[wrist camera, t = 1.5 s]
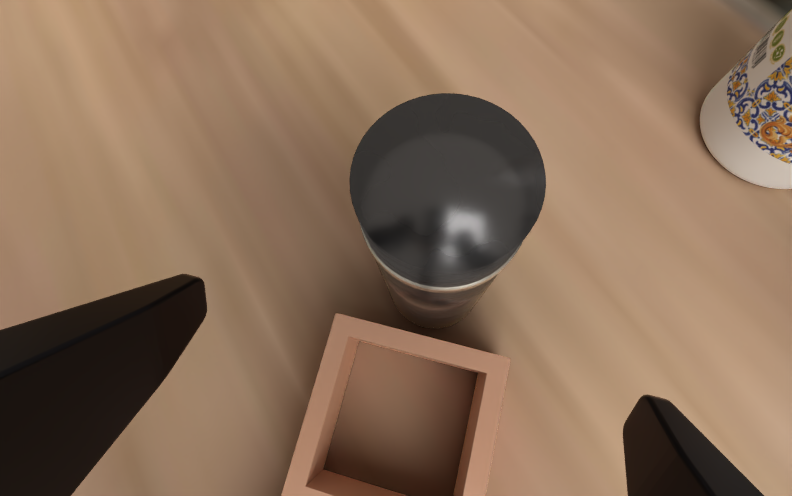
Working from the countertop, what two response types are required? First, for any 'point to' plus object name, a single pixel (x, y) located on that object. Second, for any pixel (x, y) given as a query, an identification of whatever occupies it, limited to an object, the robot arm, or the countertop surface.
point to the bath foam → (755, 112)
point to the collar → (307, 480)
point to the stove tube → (445, 201)
